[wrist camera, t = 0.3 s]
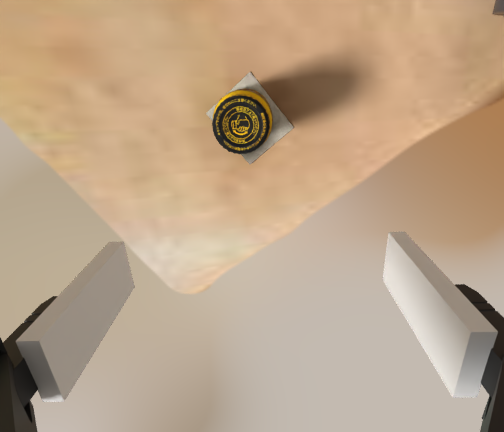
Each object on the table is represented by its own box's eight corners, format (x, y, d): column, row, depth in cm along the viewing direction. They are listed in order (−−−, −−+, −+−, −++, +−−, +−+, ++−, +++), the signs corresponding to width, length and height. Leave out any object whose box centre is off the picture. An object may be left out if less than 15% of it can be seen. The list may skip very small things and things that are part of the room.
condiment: (250, 71, 38) (245, 67, 27) (293, 127, 40) (305, 145, 29) (206, 113, 40) (184, 125, 29) (250, 164, 42) (245, 193, 31)
